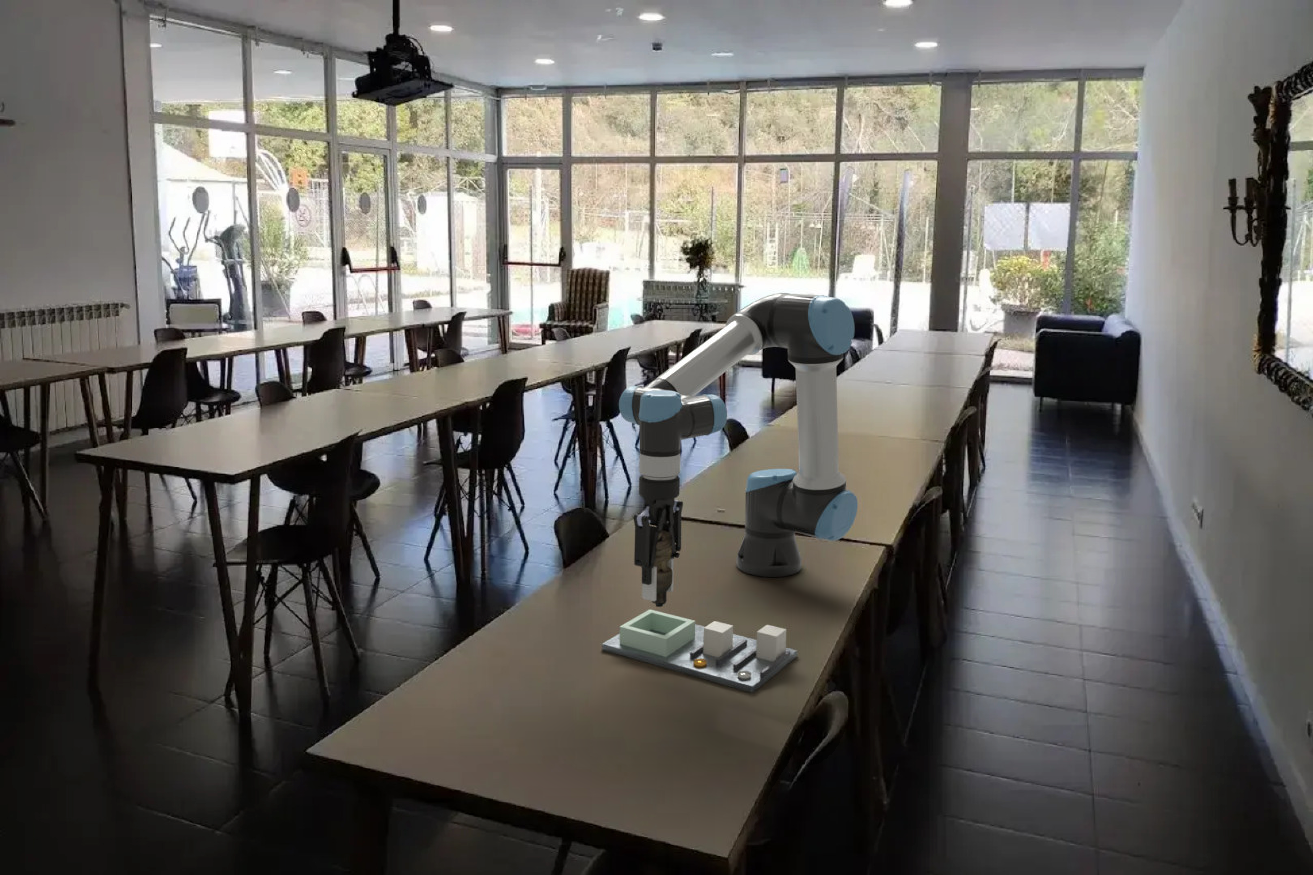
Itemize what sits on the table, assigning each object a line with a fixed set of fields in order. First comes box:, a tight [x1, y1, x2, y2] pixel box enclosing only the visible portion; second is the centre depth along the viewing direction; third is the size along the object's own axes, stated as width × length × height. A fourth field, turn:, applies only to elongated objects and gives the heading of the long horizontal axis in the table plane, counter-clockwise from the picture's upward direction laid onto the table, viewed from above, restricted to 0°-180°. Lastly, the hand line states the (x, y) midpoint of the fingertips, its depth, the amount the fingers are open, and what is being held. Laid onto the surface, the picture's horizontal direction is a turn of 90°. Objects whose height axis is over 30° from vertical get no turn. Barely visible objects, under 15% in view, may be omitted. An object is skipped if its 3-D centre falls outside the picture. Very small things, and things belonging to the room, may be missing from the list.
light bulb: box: [651, 530, 674, 608], centre depth 191 cm, size 6×6×15 cm
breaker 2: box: [756, 624, 787, 661], centre depth 188 cm, size 4×4×5 cm
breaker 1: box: [703, 620, 734, 657], centre depth 189 cm, size 4×4×5 cm
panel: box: [601, 623, 798, 694], centre depth 192 cm, size 18×32×2 cm, turn 57°
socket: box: [619, 609, 696, 657], centre depth 194 cm, size 10×10×4 cm
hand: (657, 594), depth 192 cm, fingers closed on light bulb, 5 cm apart
